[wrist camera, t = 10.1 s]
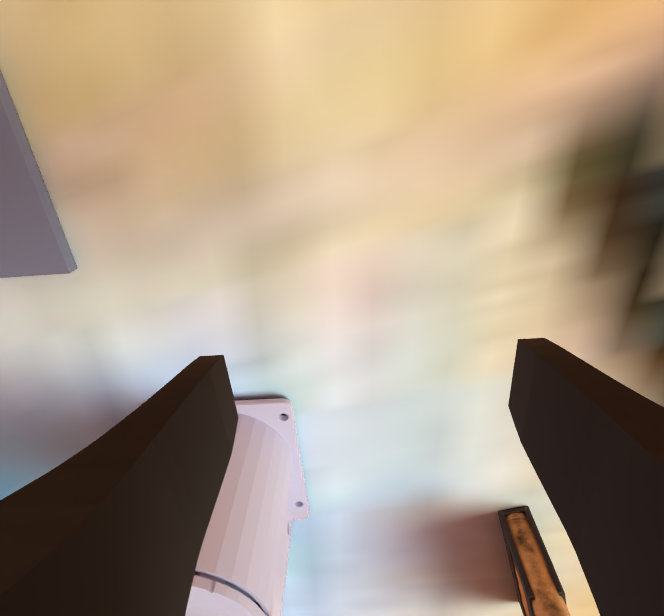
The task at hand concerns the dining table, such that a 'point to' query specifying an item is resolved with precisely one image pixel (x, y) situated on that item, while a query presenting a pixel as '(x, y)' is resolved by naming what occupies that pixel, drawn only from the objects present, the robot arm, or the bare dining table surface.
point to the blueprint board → (26, 206)
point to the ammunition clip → (531, 565)
